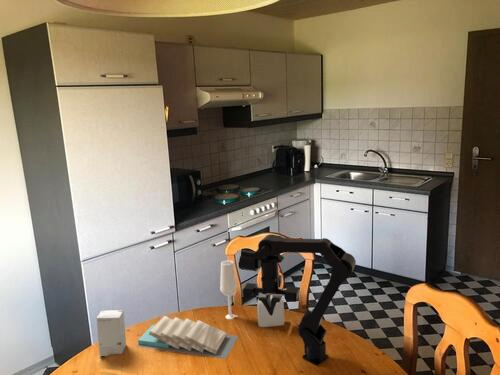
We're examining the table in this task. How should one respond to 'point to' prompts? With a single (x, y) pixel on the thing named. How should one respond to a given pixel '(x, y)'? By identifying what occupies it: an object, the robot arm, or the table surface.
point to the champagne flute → (228, 283)
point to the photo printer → (265, 318)
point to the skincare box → (111, 332)
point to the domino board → (221, 352)
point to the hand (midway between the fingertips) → (271, 315)
